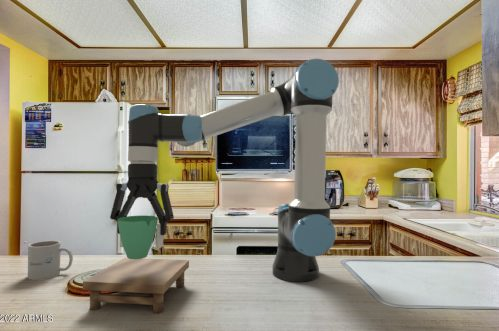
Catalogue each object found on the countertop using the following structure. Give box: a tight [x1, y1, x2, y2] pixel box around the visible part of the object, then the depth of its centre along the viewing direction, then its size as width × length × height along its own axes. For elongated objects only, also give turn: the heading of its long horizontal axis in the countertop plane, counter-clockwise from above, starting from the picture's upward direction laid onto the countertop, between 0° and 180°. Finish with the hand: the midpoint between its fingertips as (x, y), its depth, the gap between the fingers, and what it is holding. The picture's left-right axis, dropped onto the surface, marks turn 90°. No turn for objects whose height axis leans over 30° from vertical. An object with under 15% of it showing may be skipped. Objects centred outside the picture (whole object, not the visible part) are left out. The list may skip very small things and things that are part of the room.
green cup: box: [118, 215, 158, 259], centre depth 83 cm, size 15×10×10 cm
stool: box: [82, 257, 190, 314], centre depth 83 cm, size 20×20×7 cm
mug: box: [27, 240, 74, 281], centre depth 99 cm, size 12×9×10 cm
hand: (141, 246), depth 83 cm, fingers closed on green cup, 9 cm apart
